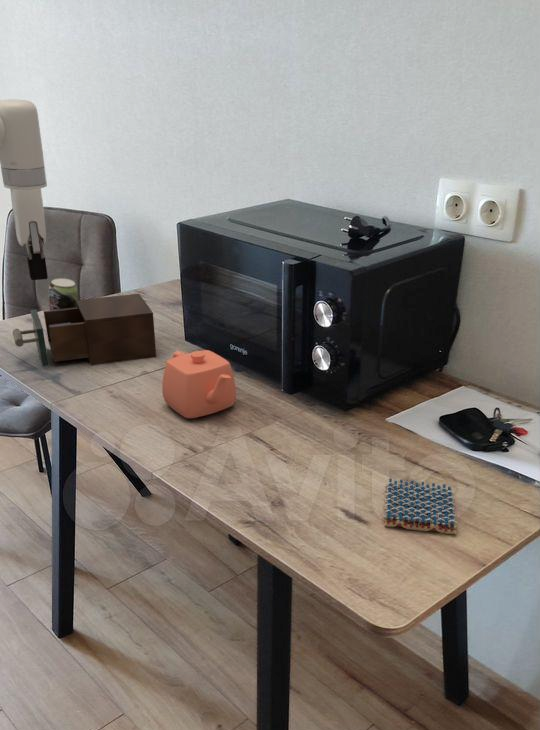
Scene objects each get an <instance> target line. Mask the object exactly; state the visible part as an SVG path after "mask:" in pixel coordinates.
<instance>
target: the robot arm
mask: <svg viewBox="0 0 540 730" xmlns="http://www.w3.org/2000/svg"><path fill="white" fill-rule="evenodd" d="M0 171H1V176H2V183H3V187H4V188H6V189H9V190H10V191H9V192H10V200H11V207H12V215H13V221H14V228H15V235H16V239H17V242H18V244H19V245H20V246H21V247H24V245H25V247H26V254H27V257H26V259H27V260H26V261H27V267H28V273H29V278H30V280H31V281H39V280H47V279H49V277H48V276H49V275H48V270H47V268H48V267H47V261H46V256H45V253H44V247H43V246H44V245H46V244H47V242H48V241H47V228H46V227H47V226H46V218H45V211H44V210H45V209H44V203H43V201H44V200H43V195H42V189H43V188H46V187H47V186H48V183H47V182H48V181H47V175H46V167H45V158H44V151H43V144H42V137H41V128H40V120H39V113H38V109H37V106H36V104H35V103H33V102H32V101H30V100H28V99H27V100H26V99H17V98H16V99H15V98H14V99H12V98H11V99H9V98H8V99H7V98H6V99H0Z"/></svg>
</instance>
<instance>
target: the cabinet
mask: <svg viewBox="0 0 540 730" xmlns="http://www.w3.org/2000/svg"><path fill="white" fill-rule="evenodd" d="M76 307H78V309H79V311H80V313H81V315H82V317H83V319H84V321H85V326H86V334H87V341H88V349H89V357H88V358H87V359H88V361H89V364H90V366H95V365H96V366H97V365H103V364H110V363H111V364H112V363H117V362H118V363H119V362H127V361H132V360H134V361H135V360H141V359H148V358H149V359H150V358H155V357H157V348H156V347H157V346H156V334H155V322H154V311H152V309H151V308H150V306H149V305H148V303H146V301H145V300H144V298H143V297H142V295H141V294H140V293H132V294H123V295H112V296H104V297H101V296H100V297H94V298H93V297H92V298H83V299H77V300H76Z"/></svg>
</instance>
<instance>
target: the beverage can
mask: <svg viewBox="0 0 540 730" xmlns="http://www.w3.org/2000/svg"><path fill="white" fill-rule="evenodd" d="M78 291H79V290H78V287H77V285H76V282H75V281H74V280H72V279H69V278H63V277H60V278H59V277H57V278H53V279H51V283H50V284H49V286H48V310H56V309H65V308H75V307H76V300H78V297H79V295H78V294H79V293H78Z"/></svg>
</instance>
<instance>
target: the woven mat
mask: <svg viewBox="0 0 540 730" xmlns="http://www.w3.org/2000/svg"><path fill="white" fill-rule="evenodd" d="M403 480H404V479H400V480H399V483H398V481H397V480H394V483H393V482H392V481H393V478H389V479H388V482H387V483H386V484H385V485H384V489H385V493H384V494H383V496H384V498H385V499H384V503H383V504H382V510H383V511H384V513H383V515H382V519H383V520H384V524H383V525H384V526H383V527H389V528H390V527H391V528H395V527H396V526H397V527H402V528H403V529H406V530H410V531H411V530H412V531H420V532H429V531H434V532H438V533H441V534H447V535H455V536H456V535H457V531H458V530H457V529H455V528H457V527H458V522H459V521H457V519H456V518H457V515H456V514H457V511H456V501H455V498H454V496H455V493H454V490H453V489H452V487H451V486H448V487H447V488H446V486H447V485H446V483H444V484H442V488H441V485H437V486H436V483H435V482H432V483H431V486H430V484H429V483H426V485H425V481H421V484H420V486H419V483H418V482H416V483H415V485H414V480H410V484H409V482H408V481H405V482H404V481H403ZM403 482H404V484H403Z"/></svg>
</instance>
